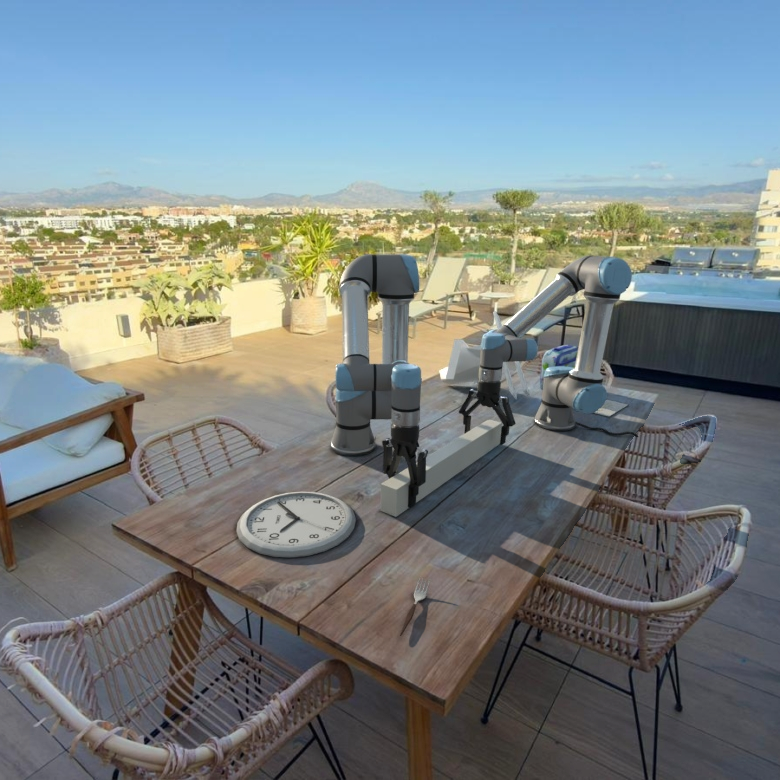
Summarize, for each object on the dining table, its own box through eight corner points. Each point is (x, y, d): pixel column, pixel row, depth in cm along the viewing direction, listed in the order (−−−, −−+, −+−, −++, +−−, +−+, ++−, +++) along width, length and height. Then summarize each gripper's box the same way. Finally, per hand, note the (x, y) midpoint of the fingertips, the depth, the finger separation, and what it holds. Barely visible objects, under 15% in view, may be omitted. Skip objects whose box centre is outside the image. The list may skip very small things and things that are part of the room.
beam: (486, 440, 189) (488, 419, 186) (500, 443, 186) (501, 422, 183) (380, 510, 140) (380, 483, 138) (395, 517, 138) (396, 489, 135)
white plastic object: (461, 429, 252) (437, 405, 227) (444, 352, 274) (420, 323, 250) (535, 404, 240) (518, 377, 215) (510, 326, 262) (492, 293, 237)
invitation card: (608, 416, 214) (573, 407, 224) (608, 416, 214) (573, 408, 224) (628, 404, 229) (594, 396, 238) (628, 405, 229) (594, 397, 238)
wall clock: (357, 549, 121) (224, 553, 118) (357, 555, 121) (224, 559, 118) (354, 487, 149) (247, 489, 147) (354, 492, 150) (247, 495, 147)
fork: (393, 636, 97) (393, 627, 97) (418, 584, 112) (419, 576, 111) (406, 640, 96) (407, 631, 96) (430, 587, 111) (430, 579, 110)
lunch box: (556, 397, 237) (562, 352, 231) (535, 392, 244) (540, 348, 238) (583, 386, 255) (589, 344, 248) (562, 381, 262) (567, 340, 256)
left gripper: (369, 419, 139) (368, 497, 146) (426, 435, 129) (423, 518, 136) (386, 412, 145) (385, 487, 152) (442, 427, 135) (438, 507, 142)
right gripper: (451, 375, 179) (447, 432, 185) (520, 389, 164) (513, 451, 171) (462, 370, 184) (458, 427, 191) (529, 384, 170) (522, 444, 177)
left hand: (403, 501), depth 144 cm, fingers closed on beam, 5 cm apart
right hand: (484, 438), depth 181 cm, fingers open, 13 cm apart
